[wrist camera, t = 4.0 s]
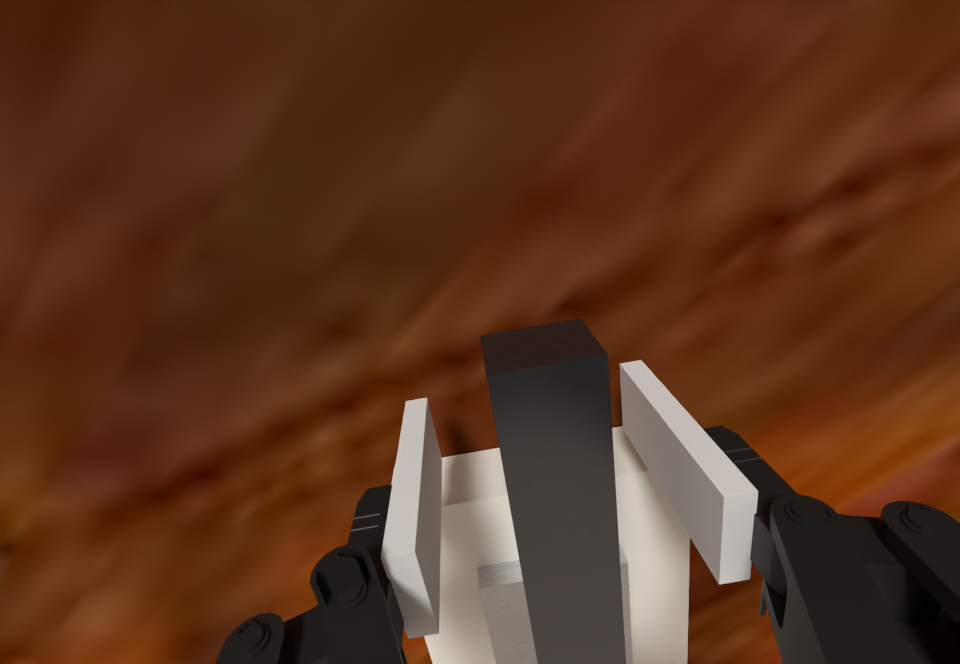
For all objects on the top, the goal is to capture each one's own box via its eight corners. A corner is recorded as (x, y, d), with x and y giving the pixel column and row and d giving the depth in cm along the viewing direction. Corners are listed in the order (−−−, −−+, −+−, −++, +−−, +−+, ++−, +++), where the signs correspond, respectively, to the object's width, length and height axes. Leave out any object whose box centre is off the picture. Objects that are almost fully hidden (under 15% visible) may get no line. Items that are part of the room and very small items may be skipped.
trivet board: (394, 465, 21) (386, 516, 18) (658, 419, 21) (691, 462, 18) (459, 690, 27) (461, 753, 24) (661, 655, 27) (686, 713, 24)
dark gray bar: (415, 296, 14) (395, 391, 9) (602, 263, 14) (698, 338, 9) (515, 732, 24) (535, 911, 18) (629, 712, 24) (684, 886, 18)
